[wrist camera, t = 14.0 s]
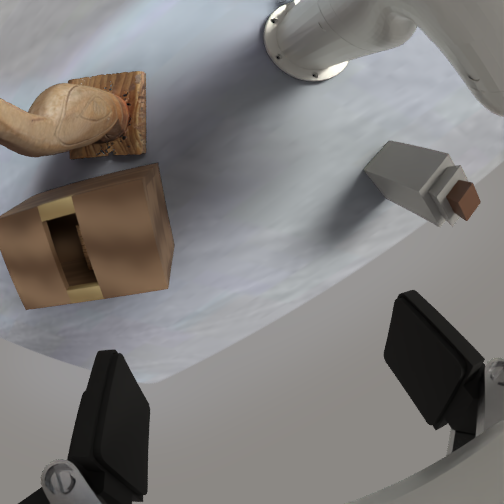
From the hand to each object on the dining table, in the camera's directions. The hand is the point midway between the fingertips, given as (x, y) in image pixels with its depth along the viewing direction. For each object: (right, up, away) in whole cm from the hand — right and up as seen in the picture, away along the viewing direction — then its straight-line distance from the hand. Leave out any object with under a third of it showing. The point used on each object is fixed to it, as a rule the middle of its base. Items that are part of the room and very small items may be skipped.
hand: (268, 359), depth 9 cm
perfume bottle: (+21, +17, +34) cm, 43 cm away
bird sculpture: (-20, +21, +24) cm, 38 cm away
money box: (-22, +8, +29) cm, 38 cm away
